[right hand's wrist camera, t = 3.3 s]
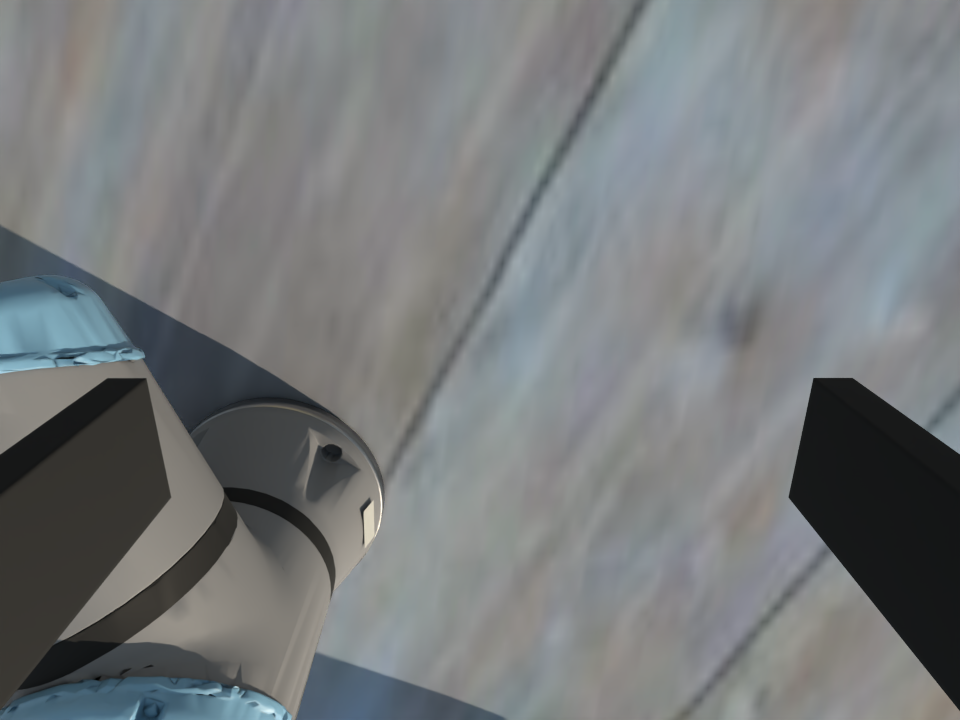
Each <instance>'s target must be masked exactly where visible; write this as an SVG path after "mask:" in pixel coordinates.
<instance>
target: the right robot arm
mask: <svg viewBox="0 0 960 720" xmlns="http://www.w3.org/2000/svg"><path fill="white" fill-rule="evenodd" d="M142 358H145V355H144V352H143V351H142V349H141V348H138V347H135V346H134V345H133V344H132V342H131V341H130V339H129V338H128V337H127V335H126V334H125V332H124V331H123V330H122V328H121V327H120V325H119V324H118V322H117V321H116V320H115V318H114V317H113V315H112V314H111V313H110V311H109V310H108V308H107V307H106V305H105V304H104V303H103V301H102V300H101V298H100V297H99V296H98V295H97V294H96V293H95V291H93V290H92V289H91V288H90V287H89V286H87V285H86V284H84V283H82V282H80V281H78V280H75V279H73V278H70V277H65V276H60V275H37V276H30V277H24V278H19V279H14V280H9V281H4V282H0V720H296V718H297V714H298V711H299V707H300V704H301V700H302V697H303V693H304V690H305V686H306V683H307V679H308V676H309V672H310V669H311V666H312V662H313V659H314V655H315V652H316V648H317V645H318V641H319V638H320V634H321V631H322V627H323V624H324V620H325V617H326V613H327V610H328V606H329V603H330V599H331V596H332V593H333V592H334V591H335V589H336V588H337V587H338V586H339V585H340V584H341V583H342V581H343V580H344V579H345V578H346V577H347V576H348V574H349V573H350V572H351V571H352V569H353V568H354V567H355V566H356V565H357V564H358V563H359V562H360V561H361V560H362V558H363V557H364V556H365V554H366V553H367V551H368V550H369V548H370V546H371V544H372V542H373V540H374V538H375V536H376V534H377V531H378V528H379V525H380V521H381V517H382V513H383V508H384V484H383V479H382V475H381V472H380V469H379V466H378V464H377V462H376V460H375V458H374V456H373V454H372V453H371V451H370V449H369V448H368V447H367V445H366V444H365V443H364V441H363V440H362V439H361V438H360V437H359V436H358V435H357V434H356V433H355V432H354V431H353V430H352V429H351V428H350V427H349V426H347V425H346V424H345V423H343V422H342V421H341V420H339V419H338V418H336V417H335V416H333V415H331V414H329V413H327V412H326V411H324V410H322V409H319V408H317V407H314V406H312V405H309V404H306V403H302V402H298V401H294V400H289V399H281V398H257V399H250V400H245V401H240V402H237V403H234V404H231V405H228V406H226V407H224V408H221V409H219V410H218V411H216V412H214V413H213V414H211V415H210V416H208V417H207V418H206V419H204V420H203V421H202V422H201V423H200V424H199V425H198V426H197V427H196V428H195V429H194V430H193V431H192V432H191V433H190V434H189V433H188V432H187V430H186V428H185V427H184V425H183V424H182V422H181V420H180V419H179V417H178V416H177V414H176V412H175V411H174V409H173V408H172V406H171V404H170V403H169V401H168V400H167V398H166V396H165V395H164V393H163V392H162V390H161V388H160V387H159V385H158V384H157V382H156V380H155V379H154V377H153V376H152V374H151V372H150V371H149V369H148V367H147V366H146V364H145V362H144V361H143V359H142ZM789 499H790V500H791V501H792V502H793V504H794V505H795V506H796V507H797V509H798V510H799V511H800V512H801V514H802V515H803V516H804V517H805V518H806V520H807V521H808V522H809V523H810V525H811V526H812V527H813V528H814V530H815V531H816V532H817V533H818V535H819V536H820V537H821V538H822V540H823V541H824V542H825V543H826V545H827V546H828V547H829V548H830V550H831V551H832V552H833V553H834V555H835V556H836V557H837V558H838V560H839V561H840V562H841V563H842V565H843V566H844V567H845V568H846V570H847V571H848V572H849V573H850V575H851V576H852V577H853V578H854V580H855V581H856V582H857V583H858V585H859V586H860V587H861V588H862V590H863V591H864V592H865V593H866V595H867V596H868V597H869V598H870V600H871V601H872V602H873V603H874V605H875V606H876V607H877V608H878V609H879V611H880V612H881V613H882V614H883V616H884V617H885V618H886V619H887V621H888V622H889V623H890V624H891V626H892V627H893V628H894V629H895V631H896V632H897V633H898V634H899V636H900V637H901V638H902V639H903V641H904V642H905V643H906V644H907V646H908V647H909V648H910V649H911V651H912V652H913V653H914V654H915V656H916V657H917V658H918V659H919V661H920V662H921V663H922V664H923V666H924V667H925V668H926V669H927V671H928V672H929V673H930V674H931V676H932V677H933V678H934V679H935V681H936V682H937V683H938V684H939V686H940V687H941V688H942V689H943V691H944V692H945V693H946V694H947V695H948V697H949V698H950V699H951V700H952V702H953V703H954V704H955V705H956V707H957V708H958V709H959V710H960V454H958V453H957V452H956V451H954V450H953V449H951V448H950V447H949V446H947V445H946V444H944V443H943V442H942V441H940V440H939V439H937V438H936V437H935V436H933V435H932V434H930V433H929V432H928V431H926V430H925V429H923V428H922V427H921V426H919V425H918V424H916V423H915V422H913V421H912V420H911V419H909V418H908V417H906V416H905V415H904V414H902V413H901V412H899V411H898V410H897V409H895V408H894V407H892V406H891V405H890V404H888V403H887V402H885V401H884V400H883V399H881V398H880V397H878V396H877V395H876V394H874V393H873V392H871V391H870V390H869V389H867V388H866V387H864V386H863V385H862V384H860V383H859V382H857V381H856V380H855V379H853V378H813V383H812V388H811V393H810V398H809V402H808V407H807V412H806V417H805V421H804V426H803V431H802V436H801V441H800V445H799V450H798V455H797V460H796V465H795V469H794V474H793V479H792V484H791V488H790V493H789Z"/></svg>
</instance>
